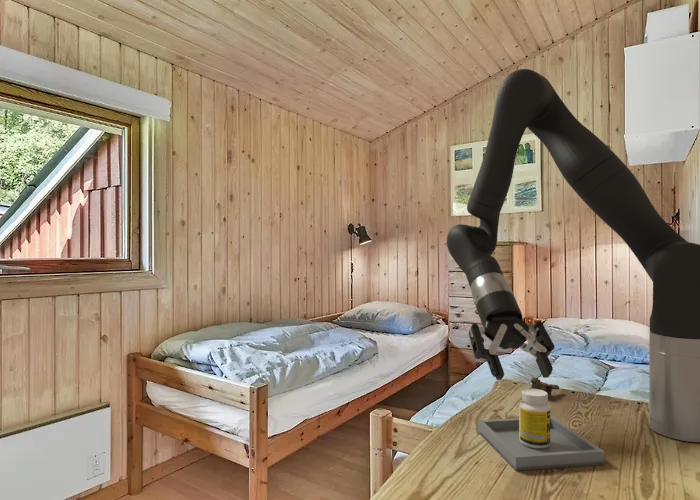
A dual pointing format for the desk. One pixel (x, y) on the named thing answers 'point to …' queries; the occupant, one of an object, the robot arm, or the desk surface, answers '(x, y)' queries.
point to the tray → (561, 452)
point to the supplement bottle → (534, 419)
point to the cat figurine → (543, 386)
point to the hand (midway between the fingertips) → (524, 376)
